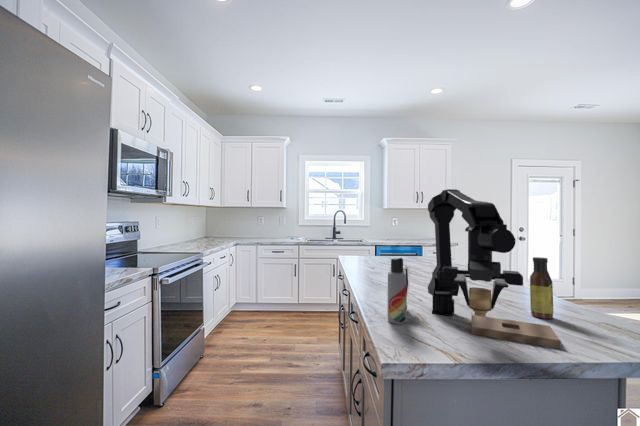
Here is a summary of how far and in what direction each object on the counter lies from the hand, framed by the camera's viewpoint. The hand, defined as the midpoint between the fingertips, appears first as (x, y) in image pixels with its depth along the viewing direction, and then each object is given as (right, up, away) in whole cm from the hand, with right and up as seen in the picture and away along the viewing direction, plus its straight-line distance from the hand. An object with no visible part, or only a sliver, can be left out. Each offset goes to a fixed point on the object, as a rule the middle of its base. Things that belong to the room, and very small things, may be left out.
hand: (480, 307), depth 79 cm
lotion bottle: (-19, -9, +14) cm, 25 cm away
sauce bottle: (+32, -10, +20) cm, 39 cm away
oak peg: (0, -2, 0) cm, 2 cm away
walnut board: (+12, -9, +5) cm, 15 cm away
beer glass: (-15, -9, +26) cm, 32 cm away
